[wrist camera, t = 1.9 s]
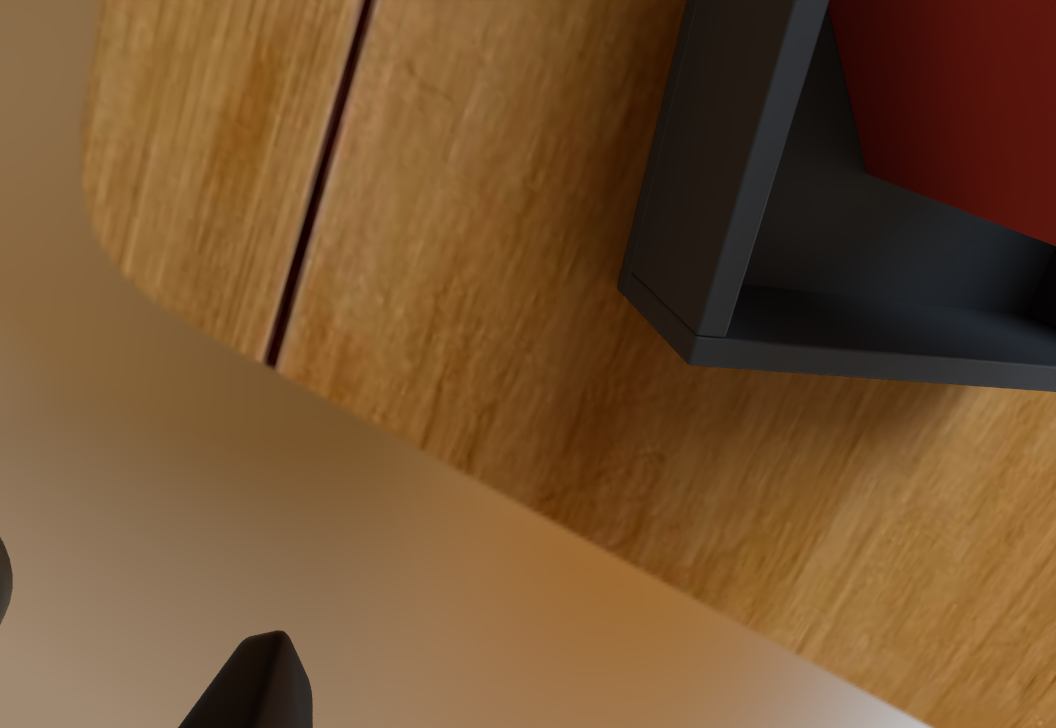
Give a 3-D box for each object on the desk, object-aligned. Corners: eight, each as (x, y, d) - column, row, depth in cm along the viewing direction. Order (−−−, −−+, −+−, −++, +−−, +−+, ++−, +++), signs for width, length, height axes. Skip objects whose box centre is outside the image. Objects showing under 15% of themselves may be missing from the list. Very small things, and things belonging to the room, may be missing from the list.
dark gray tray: (1017, 329, 25) (1153, 399, 21) (615, 289, 21) (687, 366, 17) (1301, -280, 19) (1572, -346, 15) (805, -496, 15) (989, -666, 11)
